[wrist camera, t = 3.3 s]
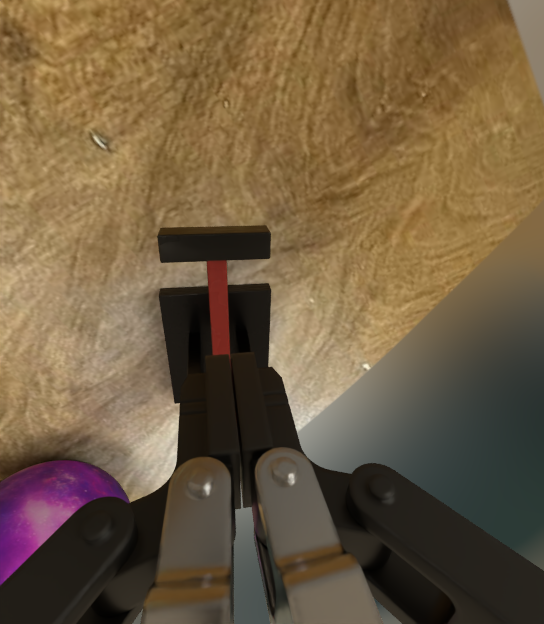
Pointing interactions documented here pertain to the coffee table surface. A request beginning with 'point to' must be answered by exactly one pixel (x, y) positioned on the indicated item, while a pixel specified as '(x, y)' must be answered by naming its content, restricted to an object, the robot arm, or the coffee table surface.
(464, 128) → the coffee table surface
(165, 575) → the robot arm
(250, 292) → the lever stand
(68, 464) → the decorative orb
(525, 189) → the coffee table surface
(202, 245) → the red lever
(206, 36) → the coffee table surface
